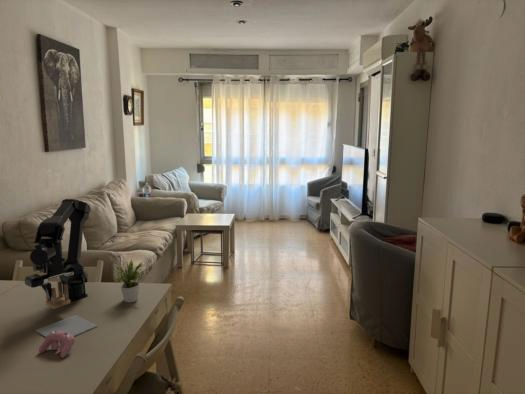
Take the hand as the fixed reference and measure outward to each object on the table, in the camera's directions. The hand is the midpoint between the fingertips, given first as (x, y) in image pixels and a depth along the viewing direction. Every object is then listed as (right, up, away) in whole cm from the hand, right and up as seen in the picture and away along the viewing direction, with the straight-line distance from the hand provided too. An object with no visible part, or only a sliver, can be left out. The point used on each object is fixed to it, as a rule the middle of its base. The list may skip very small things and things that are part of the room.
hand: (57, 297), depth 145 cm
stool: (0, -3, 0) cm, 3 cm away
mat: (+8, -8, -10) cm, 15 cm away
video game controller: (+12, -11, -23) cm, 28 cm away
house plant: (+23, -5, +13) cm, 27 cm away
